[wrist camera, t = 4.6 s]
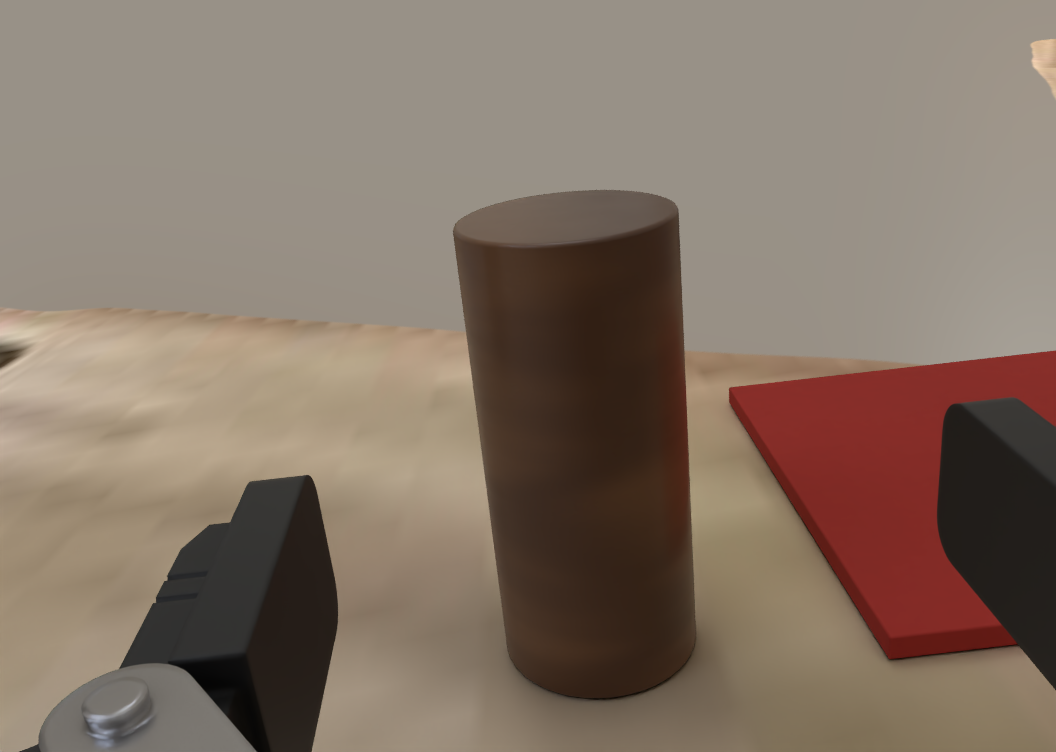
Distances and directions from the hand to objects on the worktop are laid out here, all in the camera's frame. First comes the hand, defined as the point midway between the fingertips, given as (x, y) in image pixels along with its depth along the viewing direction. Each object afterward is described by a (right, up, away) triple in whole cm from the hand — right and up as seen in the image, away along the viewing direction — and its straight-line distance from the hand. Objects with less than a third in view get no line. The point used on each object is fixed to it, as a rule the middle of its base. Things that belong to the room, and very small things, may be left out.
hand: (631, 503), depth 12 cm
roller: (0, -4, +10) cm, 11 cm away
